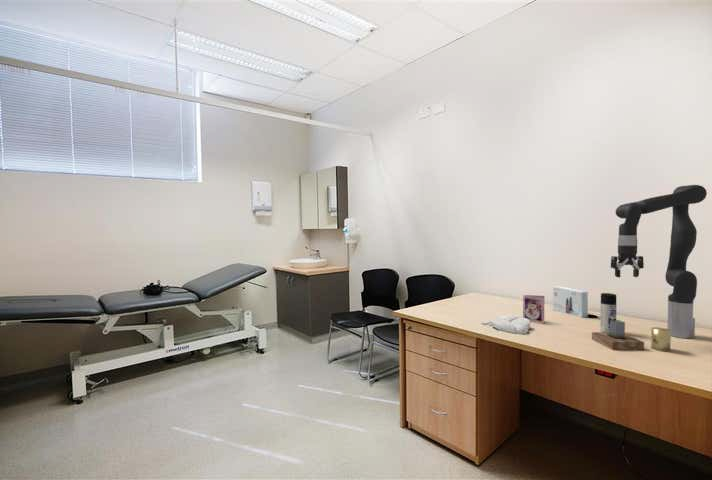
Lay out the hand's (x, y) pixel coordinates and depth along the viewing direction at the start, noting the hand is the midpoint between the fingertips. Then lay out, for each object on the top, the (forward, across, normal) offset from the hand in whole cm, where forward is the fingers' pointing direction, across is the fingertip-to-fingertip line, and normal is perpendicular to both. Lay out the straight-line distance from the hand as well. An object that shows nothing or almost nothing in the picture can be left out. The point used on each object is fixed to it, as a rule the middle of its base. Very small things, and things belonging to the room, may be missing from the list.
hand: (626, 277), depth 169 cm
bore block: (+30, +12, +11) cm, 34 cm away
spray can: (+30, +3, -8) cm, 31 cm away
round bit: (+30, -3, +17) cm, 35 cm away
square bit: (+30, +12, +11) cm, 34 cm away
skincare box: (+30, +1, -46) cm, 55 cm away
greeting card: (+30, +31, -28) cm, 52 cm away
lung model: (+31, +54, -16) cm, 64 cm away
